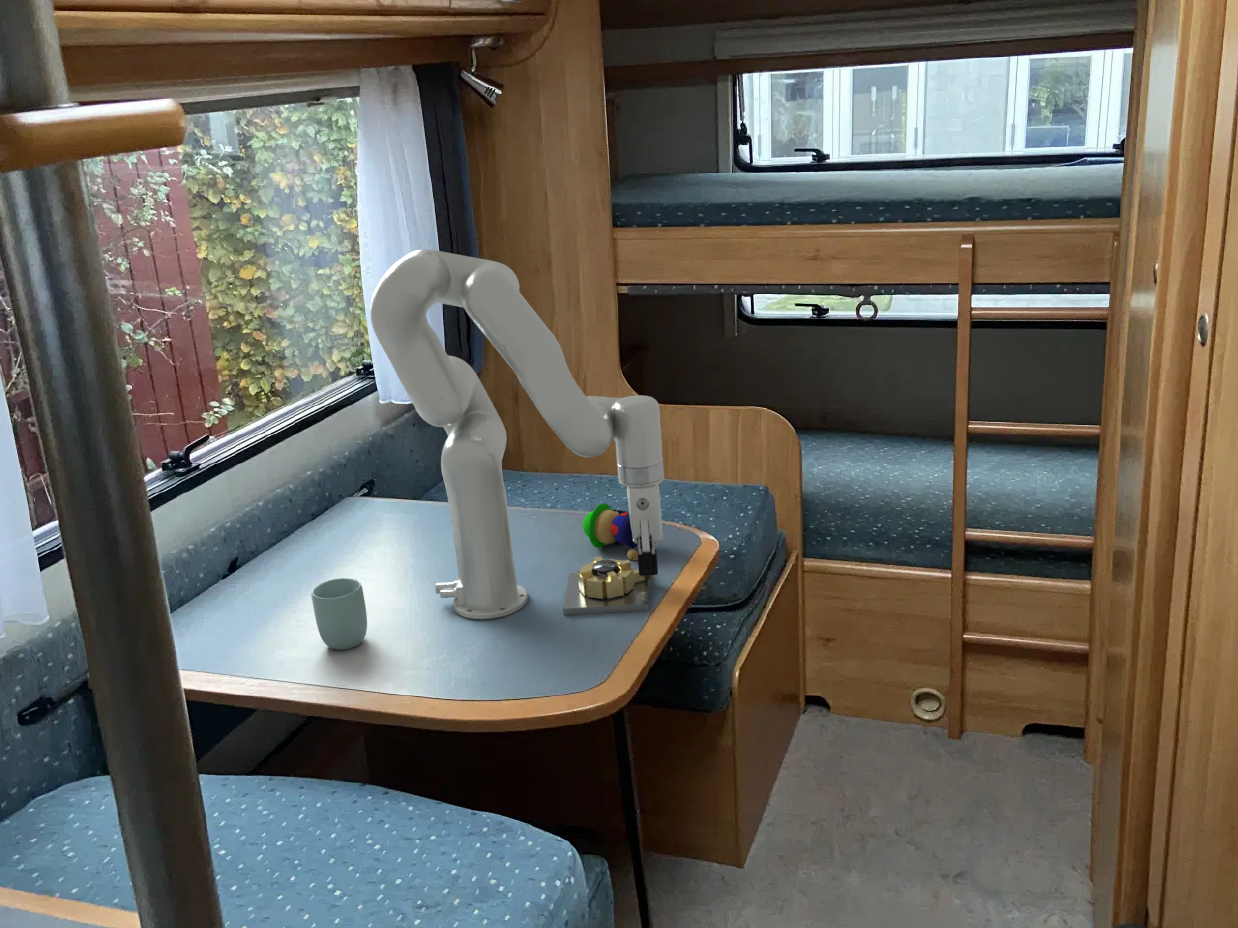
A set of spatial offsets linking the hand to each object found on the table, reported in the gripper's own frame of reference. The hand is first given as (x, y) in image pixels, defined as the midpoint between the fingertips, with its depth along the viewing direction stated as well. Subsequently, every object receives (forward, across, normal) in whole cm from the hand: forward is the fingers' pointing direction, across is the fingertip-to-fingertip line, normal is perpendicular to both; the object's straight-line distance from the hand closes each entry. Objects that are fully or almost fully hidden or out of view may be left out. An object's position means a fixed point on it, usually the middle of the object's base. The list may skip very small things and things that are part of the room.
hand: (648, 573), depth 190 cm
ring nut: (+2, +1, +5) cm, 6 cm away
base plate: (+4, +1, +7) cm, 8 cm away
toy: (+4, +20, +5) cm, 21 cm away
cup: (+4, -12, +50) cm, 51 cm away
